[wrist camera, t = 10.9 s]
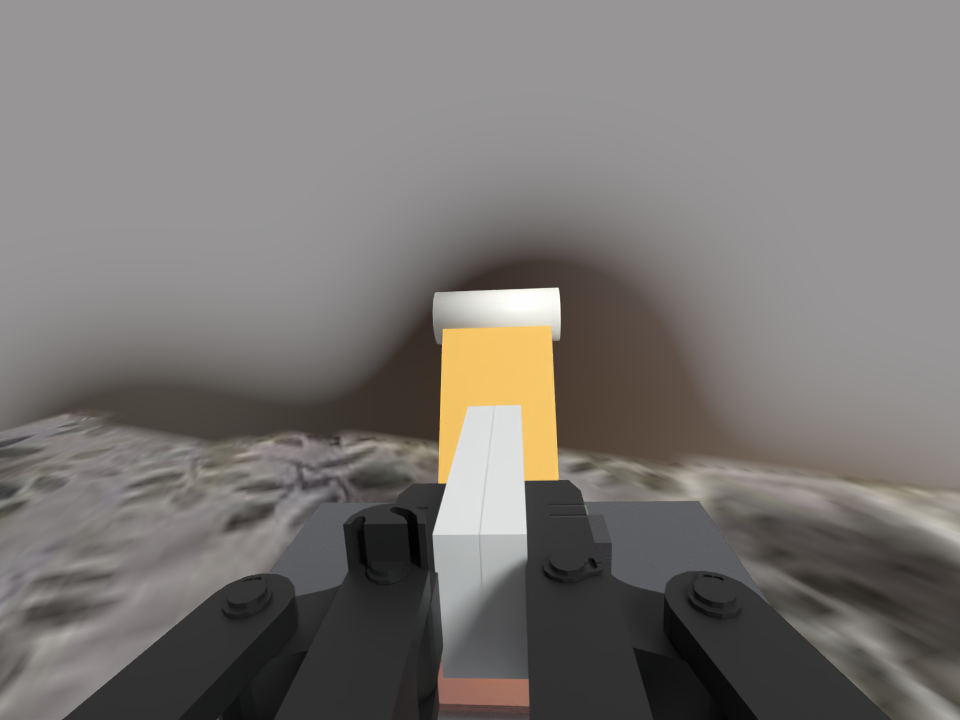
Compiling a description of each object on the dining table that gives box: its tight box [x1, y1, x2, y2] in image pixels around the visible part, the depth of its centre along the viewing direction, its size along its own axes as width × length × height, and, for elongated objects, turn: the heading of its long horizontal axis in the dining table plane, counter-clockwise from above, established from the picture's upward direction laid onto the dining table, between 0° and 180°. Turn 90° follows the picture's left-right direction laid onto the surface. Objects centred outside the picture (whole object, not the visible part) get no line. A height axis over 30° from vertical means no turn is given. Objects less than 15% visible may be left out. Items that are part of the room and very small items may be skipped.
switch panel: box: [217, 501, 770, 720], centre depth 25 cm, size 16×24×7 cm, turn 86°
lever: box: [433, 288, 561, 483], centre depth 28 cm, size 3×7×15 cm
